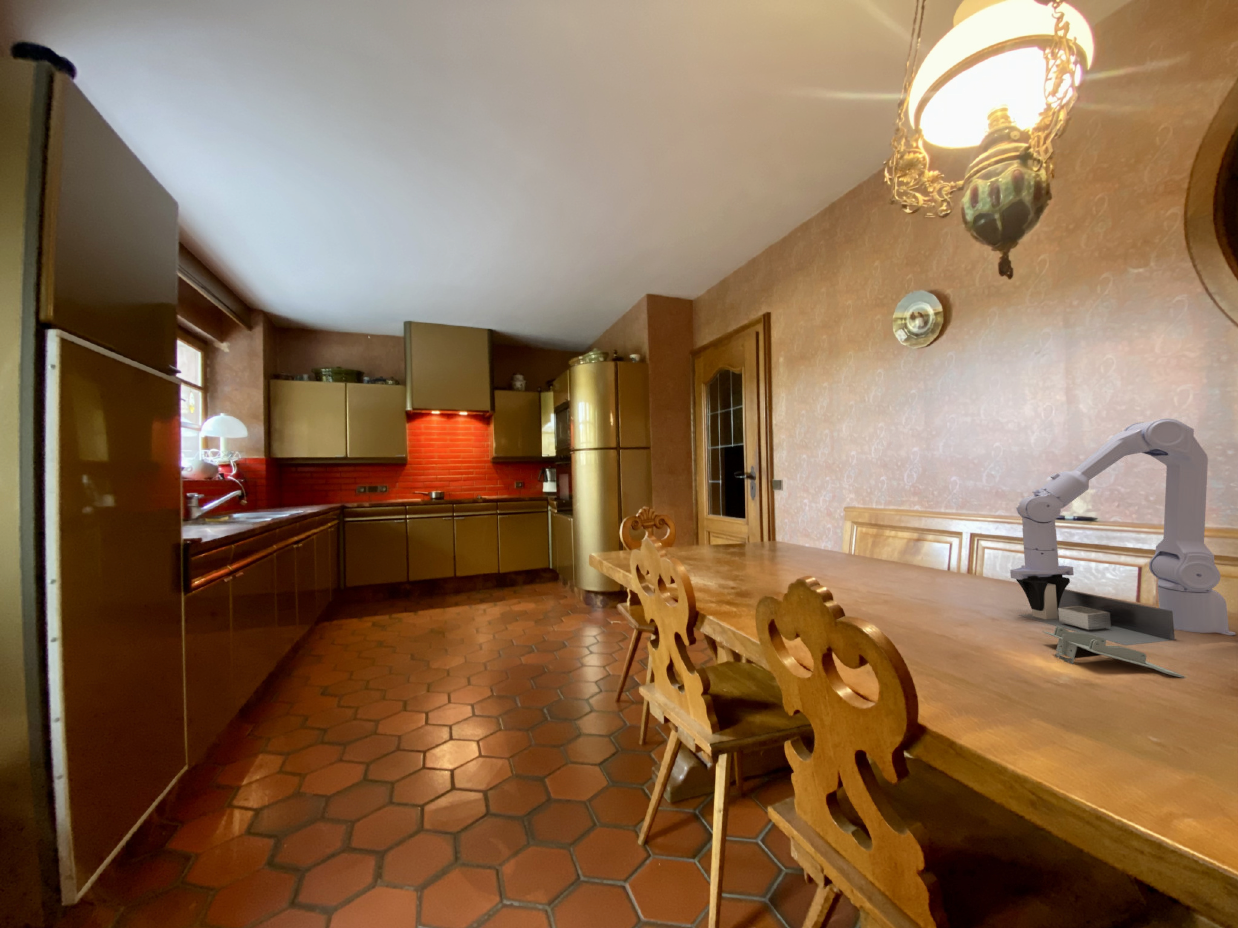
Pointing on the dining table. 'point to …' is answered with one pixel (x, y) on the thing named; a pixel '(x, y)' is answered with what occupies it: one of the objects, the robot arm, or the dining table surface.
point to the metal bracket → (1098, 649)
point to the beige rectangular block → (1048, 604)
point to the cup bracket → (1114, 614)
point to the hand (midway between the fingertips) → (1044, 608)
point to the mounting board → (1105, 632)
